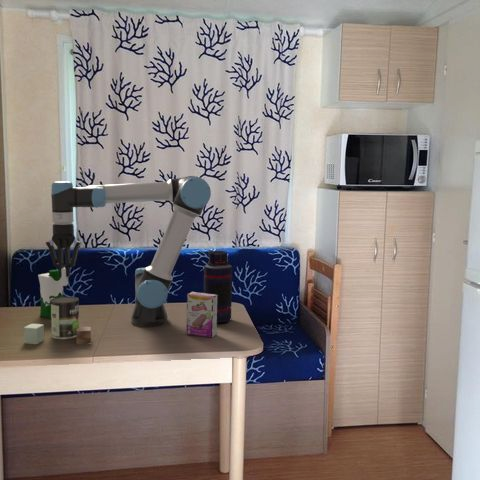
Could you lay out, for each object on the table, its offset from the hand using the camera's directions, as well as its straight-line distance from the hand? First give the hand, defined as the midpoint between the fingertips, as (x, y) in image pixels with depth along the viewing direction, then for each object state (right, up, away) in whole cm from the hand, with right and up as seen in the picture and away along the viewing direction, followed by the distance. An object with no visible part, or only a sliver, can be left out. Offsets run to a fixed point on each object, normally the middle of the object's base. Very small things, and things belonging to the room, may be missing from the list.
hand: (65, 284), depth 206 cm
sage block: (-10, -21, -5) cm, 23 cm away
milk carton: (-15, -16, +28) cm, 36 cm away
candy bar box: (+51, -20, +7) cm, 56 cm away
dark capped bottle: (+56, -18, +27) cm, 65 cm away
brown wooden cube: (+8, -21, -4) cm, 23 cm away
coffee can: (-1, -20, +3) cm, 20 cm away
